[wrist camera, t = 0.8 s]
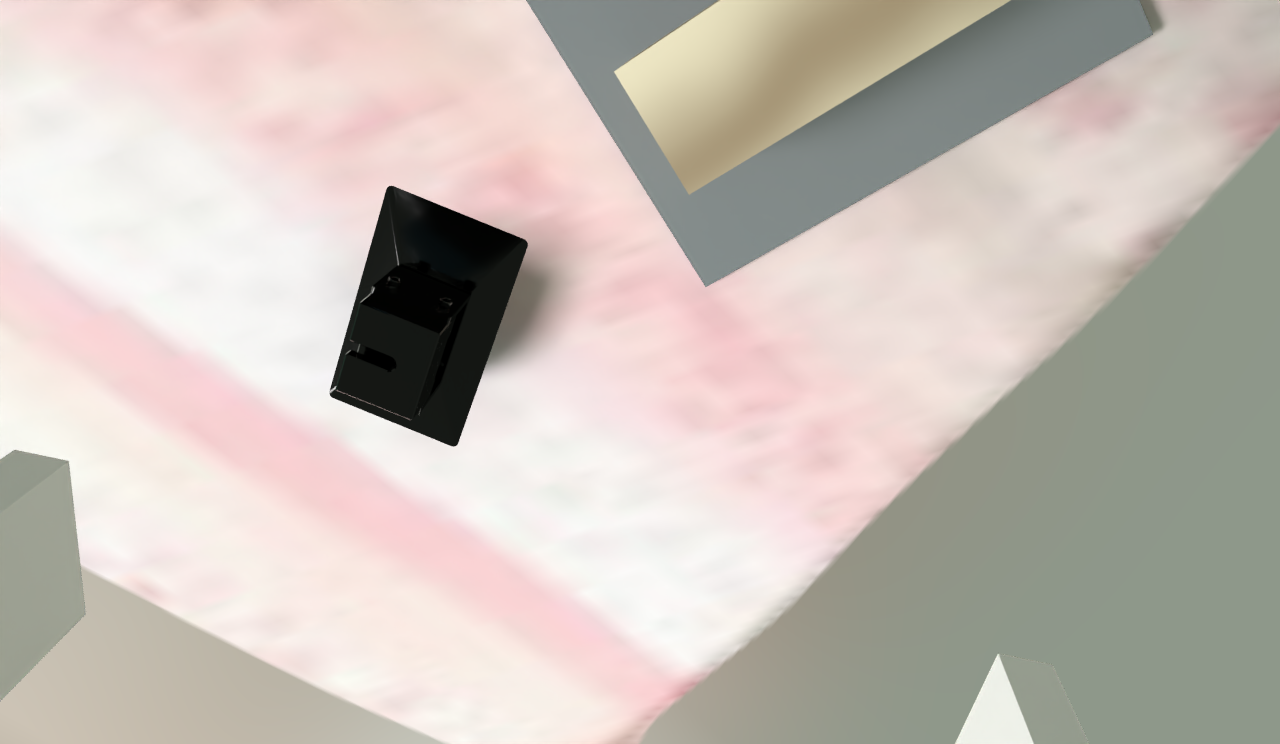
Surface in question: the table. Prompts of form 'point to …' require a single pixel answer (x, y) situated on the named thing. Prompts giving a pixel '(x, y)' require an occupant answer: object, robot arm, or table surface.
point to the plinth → (773, 70)
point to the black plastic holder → (426, 315)
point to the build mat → (833, 113)
